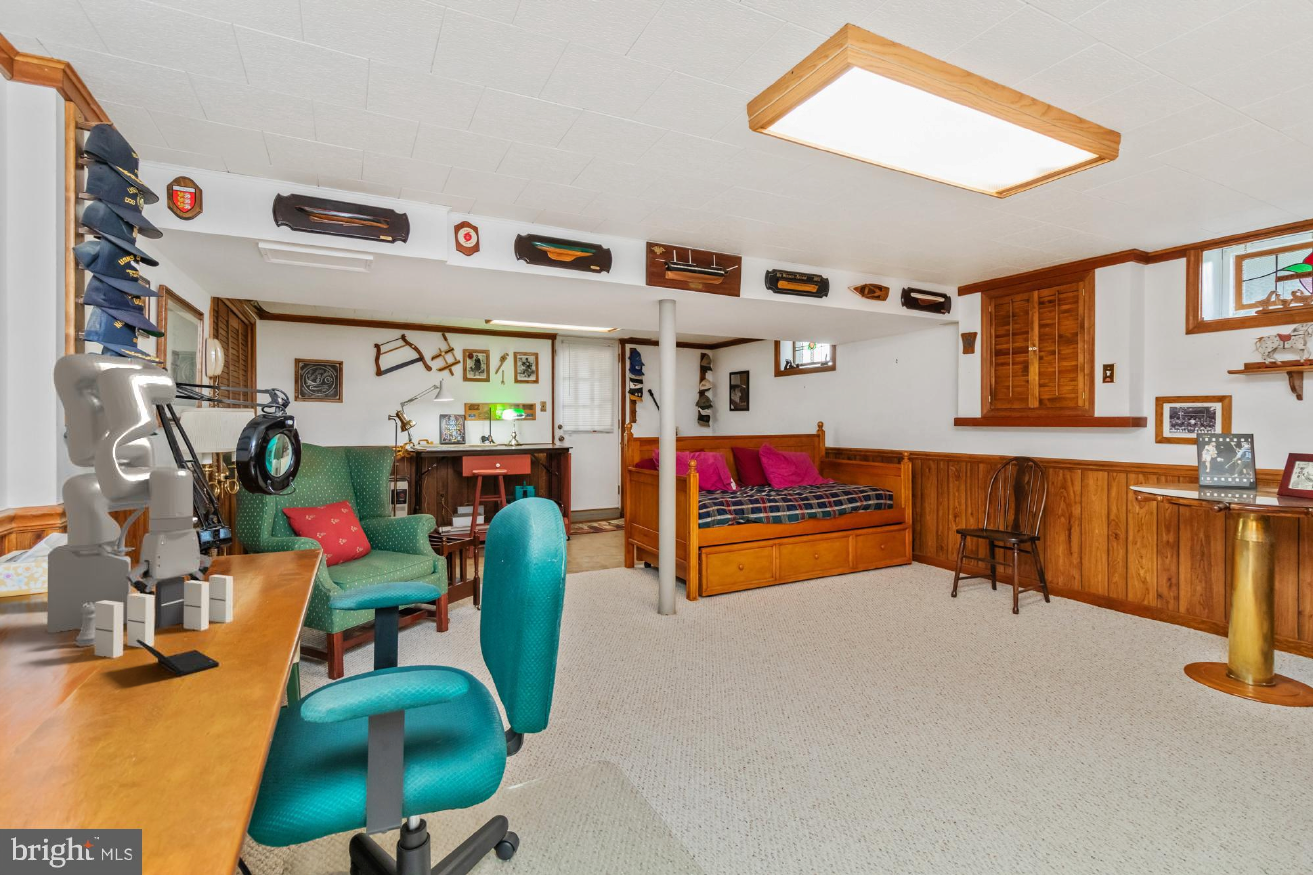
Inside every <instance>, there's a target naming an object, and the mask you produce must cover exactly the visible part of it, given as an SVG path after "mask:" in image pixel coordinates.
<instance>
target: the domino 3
mask: <svg viewBox="0 0 1313 875" xmlns="http://www.w3.org/2000/svg"><path fill="white" fill-rule="evenodd" d="M184 582H186V578H185V576H180V577H175V578H170V579H166V580H160V581H158V582H157V583H156V585H155V586H154V588H155V591H154V592H155V609H154V629H159V630H161V629H164V628H168V627H171V626H174V625H178V624H182V623H184Z"/></svg>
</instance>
